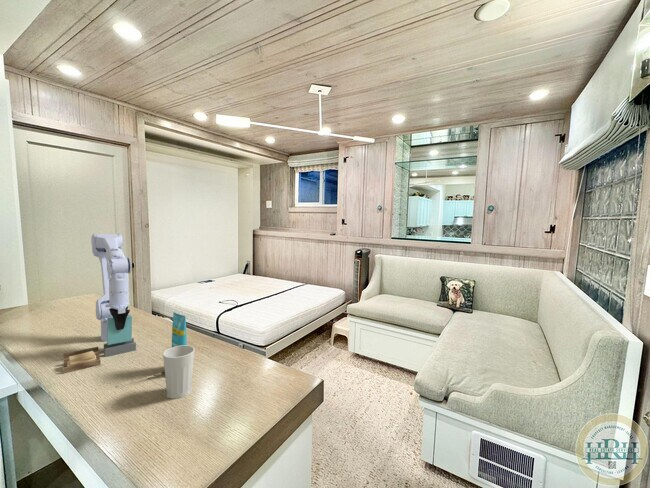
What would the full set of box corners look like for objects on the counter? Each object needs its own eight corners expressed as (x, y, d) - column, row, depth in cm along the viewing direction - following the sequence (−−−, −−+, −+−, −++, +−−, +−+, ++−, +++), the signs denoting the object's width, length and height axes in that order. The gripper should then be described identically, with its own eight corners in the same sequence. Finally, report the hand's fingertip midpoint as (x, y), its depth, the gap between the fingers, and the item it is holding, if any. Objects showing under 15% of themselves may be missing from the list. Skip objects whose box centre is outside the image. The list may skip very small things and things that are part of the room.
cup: (187, 381, 85) (187, 342, 85) (199, 391, 80) (199, 350, 80) (158, 392, 79) (158, 351, 79) (170, 404, 74) (170, 360, 74)
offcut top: (92, 355, 94) (92, 350, 94) (95, 358, 92) (94, 353, 92) (68, 361, 89) (68, 356, 89) (70, 364, 87) (70, 359, 87)
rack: (98, 353, 101) (98, 345, 101) (100, 367, 92) (100, 358, 91) (64, 360, 95) (64, 352, 95) (63, 376, 86) (62, 367, 85)
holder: (133, 346, 108) (133, 337, 108) (136, 352, 103) (136, 343, 102) (103, 352, 102) (103, 343, 102) (105, 360, 97) (105, 350, 96)
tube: (165, 371, 91) (165, 313, 89) (179, 365, 95) (179, 309, 94) (179, 378, 87) (179, 317, 86) (193, 371, 91) (193, 313, 90)
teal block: (130, 338, 105) (130, 314, 105) (131, 340, 103) (131, 316, 103) (107, 342, 100) (107, 318, 100) (107, 345, 99) (107, 319, 98)
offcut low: (95, 360, 94) (95, 354, 94) (96, 364, 92) (96, 358, 92) (67, 366, 90) (67, 361, 90) (67, 371, 87) (67, 365, 87)
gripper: (103, 288, 104) (104, 324, 104) (106, 297, 93) (107, 336, 94) (126, 286, 108) (127, 321, 109) (132, 294, 97) (132, 332, 98)
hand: (119, 328), depth 102 cm, fingers closed on teal block, 3 cm apart
